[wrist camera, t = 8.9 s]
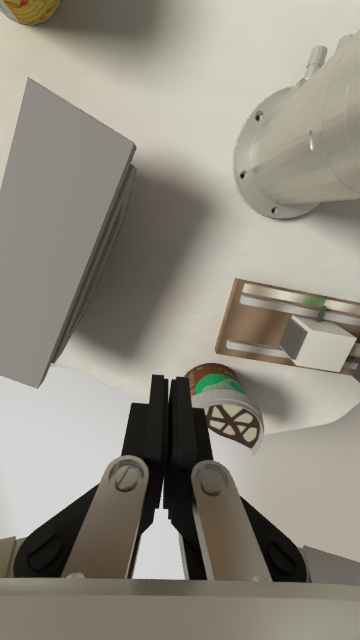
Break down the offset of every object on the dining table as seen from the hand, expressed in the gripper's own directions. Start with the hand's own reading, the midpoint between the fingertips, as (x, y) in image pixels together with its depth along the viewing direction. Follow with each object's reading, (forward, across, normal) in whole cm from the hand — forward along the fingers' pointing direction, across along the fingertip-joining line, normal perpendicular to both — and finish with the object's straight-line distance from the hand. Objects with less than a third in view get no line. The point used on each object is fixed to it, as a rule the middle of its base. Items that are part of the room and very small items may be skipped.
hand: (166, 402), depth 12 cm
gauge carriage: (+22, -20, +4) cm, 30 cm away
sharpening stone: (+24, +12, -2) cm, 27 cm away
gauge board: (+24, -20, +5) cm, 32 cm away
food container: (+24, -10, +15) cm, 30 cm away
